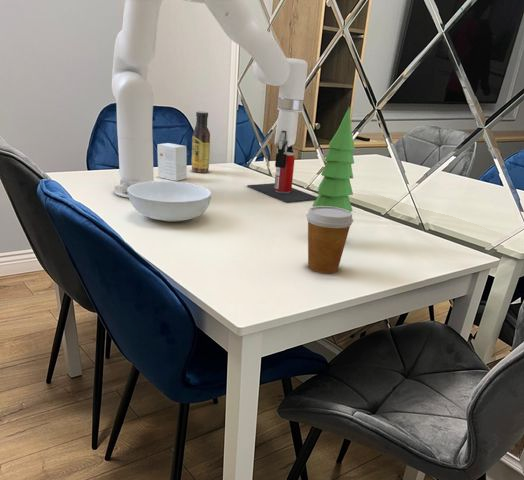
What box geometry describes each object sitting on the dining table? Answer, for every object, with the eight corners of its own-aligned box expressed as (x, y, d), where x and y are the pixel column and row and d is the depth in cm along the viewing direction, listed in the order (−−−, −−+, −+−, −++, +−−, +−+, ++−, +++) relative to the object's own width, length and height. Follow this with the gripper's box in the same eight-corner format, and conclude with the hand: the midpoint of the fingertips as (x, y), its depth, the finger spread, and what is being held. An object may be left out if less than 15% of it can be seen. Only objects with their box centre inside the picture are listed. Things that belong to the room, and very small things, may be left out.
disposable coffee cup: (341, 261, 117) (349, 207, 111) (349, 277, 109) (358, 219, 103) (298, 259, 117) (304, 204, 111) (302, 275, 108) (309, 216, 102)
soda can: (294, 192, 172) (298, 153, 166) (283, 194, 168) (286, 154, 162) (282, 188, 175) (285, 150, 169) (270, 190, 171) (273, 151, 166)
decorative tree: (349, 238, 133) (370, 107, 119) (344, 249, 125) (365, 109, 111) (311, 232, 135) (327, 102, 121) (303, 242, 127) (319, 105, 113)
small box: (187, 179, 179) (187, 146, 174) (176, 181, 175) (176, 147, 170) (168, 175, 183) (168, 142, 177) (157, 177, 178) (156, 143, 173)
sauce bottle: (189, 169, 193) (189, 110, 183) (205, 169, 195) (206, 110, 186) (195, 173, 188) (195, 112, 178) (211, 173, 190) (213, 113, 181)
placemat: (320, 199, 167) (320, 198, 167) (287, 202, 161) (287, 201, 160) (278, 184, 183) (279, 182, 183) (247, 186, 176) (247, 185, 176)
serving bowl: (114, 221, 130) (112, 193, 127) (149, 203, 148) (148, 177, 145) (194, 233, 127) (195, 204, 124) (221, 213, 145) (222, 187, 142)
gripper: (284, 102, 167) (278, 159, 175) (271, 105, 152) (265, 167, 161) (307, 105, 166) (300, 163, 174) (296, 108, 151) (289, 171, 159)
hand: (283, 165), depth 167 cm, fingers open, 9 cm apart
